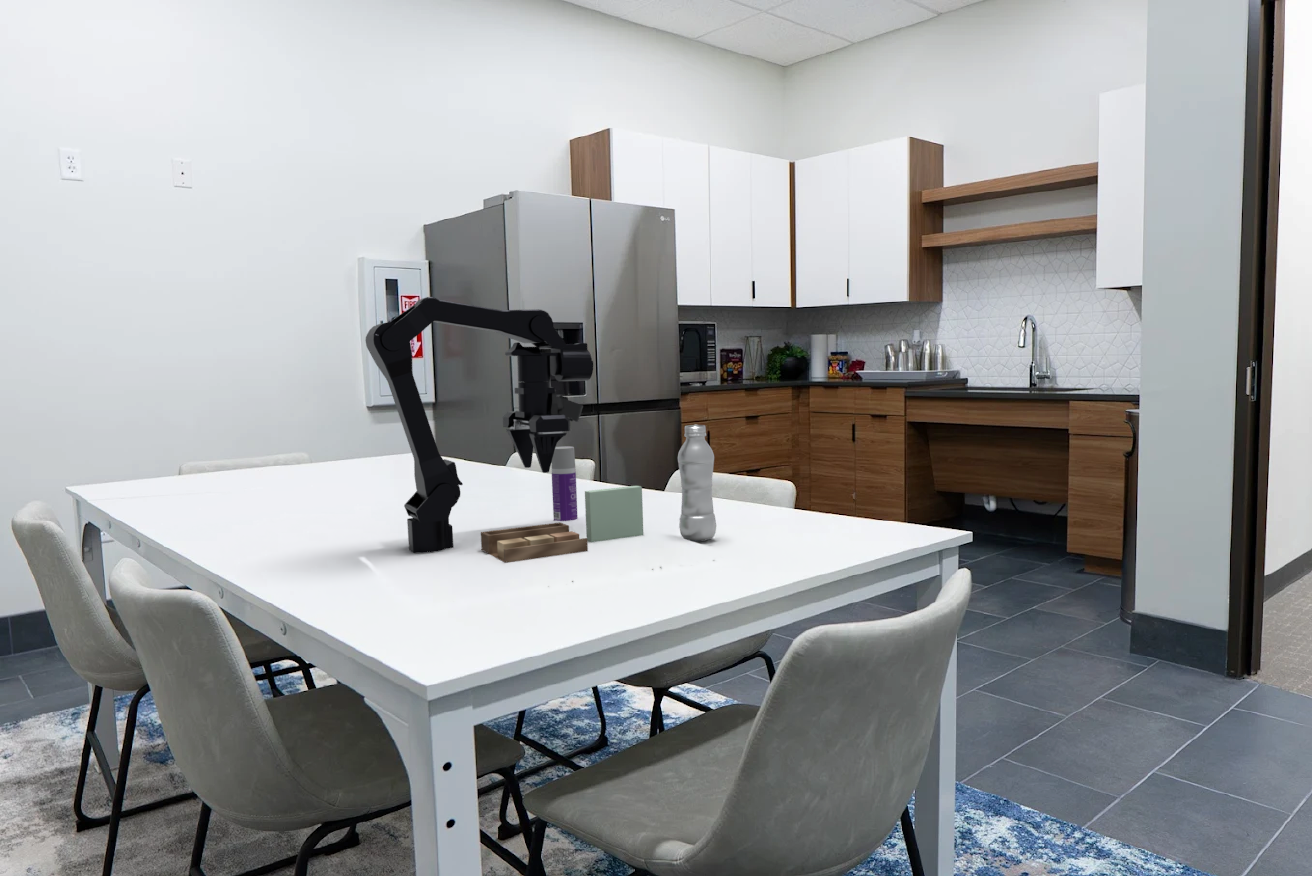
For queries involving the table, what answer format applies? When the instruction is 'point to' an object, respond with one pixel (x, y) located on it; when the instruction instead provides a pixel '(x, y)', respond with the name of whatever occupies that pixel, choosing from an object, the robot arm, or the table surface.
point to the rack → (532, 551)
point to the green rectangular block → (614, 513)
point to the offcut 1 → (510, 545)
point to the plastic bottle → (696, 486)
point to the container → (564, 484)
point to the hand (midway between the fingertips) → (536, 470)
